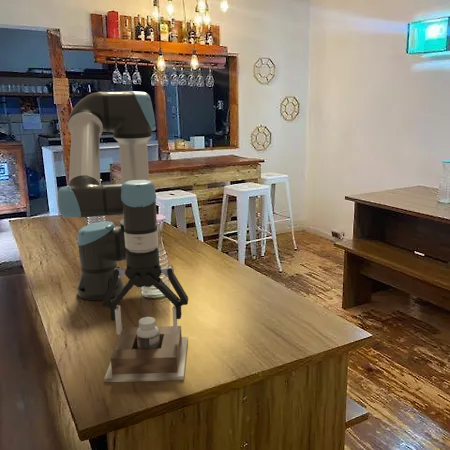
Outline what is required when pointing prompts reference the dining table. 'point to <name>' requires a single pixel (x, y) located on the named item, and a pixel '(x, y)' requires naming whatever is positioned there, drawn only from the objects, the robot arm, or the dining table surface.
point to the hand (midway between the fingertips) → (147, 331)
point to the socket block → (148, 357)
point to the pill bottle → (148, 334)
